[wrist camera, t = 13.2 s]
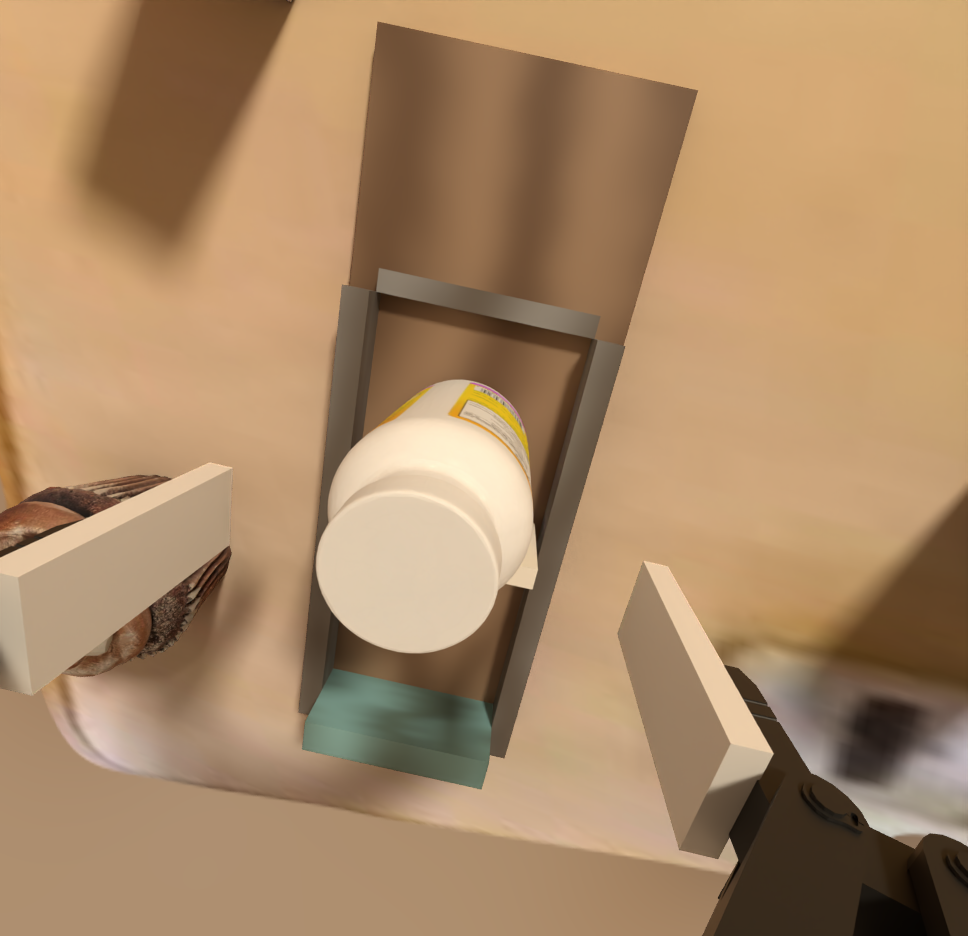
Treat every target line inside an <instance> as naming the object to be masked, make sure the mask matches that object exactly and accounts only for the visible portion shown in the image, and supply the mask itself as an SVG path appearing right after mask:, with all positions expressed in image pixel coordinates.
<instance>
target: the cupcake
mask: <svg viewBox="0 0 968 936" xmlns="http://www.w3.org/2000/svg"><path fill="white" fill-rule="evenodd" d="M170 480H172V479H170V478H168V477H160V476H157V475H152V476H144V475H137V476H128V477H123V478H118V479H112V480H105V481H99V482H94V483H89V484H84V485H77V486H67V487H49V488H47V489H45V490H43V491H41V492H39V493H36V494H34V495H32V496H30V497H28V498H27V499H25V500H24V501H22V502H21V503H19V504H18V505H16V506H14V507H12V508H10V509H7V510H5V511H4V512H2V513H1V514H0V551H1V550H3V549H5V548H8V547H10V546H14V547H15V546H16V544H17V543H19V542H21V541H24V540H26V539H28V538H34V536H35V535H37V534H39V533H42V532H44V531H46V530H48V529H51V528H53V527H55V526H58V525H62V524H66V523H70V522H74V521H78V520H82V519H86V518H88V517H91V516H93V515H95V514H97V513H99V512H102V511H104V510H106V509H108V508H110V507H113V506H115V505H117V504H119V503H121V502H123V501H126V500H128V499H130V498H132V497H134V496H137V495H139V494H141V493H143V492H145V491H148V490H150V489H152V488H154V487H156V486H159V485H161V484H163V483H165V482H167V481H170ZM230 556H231V549H230V546H228V547H226V548H225V549H224V550H222V551H221V552H220V553H218V554H217V555H216V556H214V557H213V558H212V559H211V560H209V561H208V562H207V563H205V564H204V565H203V566H201V567H200V568H199V569H197V570H196V571H195V572H194V573H192V574H191V575H190V576H188V577H187V578H186V579H184V580H183V581H182V582H180V583H179V584H178V585H177V586H175V587H174V588H173V589H171V590H170V591H169V592H167V593H166V594H165V595H163V596H162V597H161V598H160V599H158V600H157V601H156V602H154V603H153V604H152V605H150V606H149V607H148V608H146V609H145V610H144V611H142V612H141V613H140V614H139V615H137V616H136V617H135V618H133V619H132V620H131V621H129V622H128V623H127V624H125V625H124V626H123V627H122V628H120V629H119V630H118V631H116V632H115V633H114V634H112V635H111V636H110V637H108V638H107V639H106V640H105V641H103V642H102V643H101V644H99V645H98V646H97V647H95V648H94V649H93V650H91V651H90V652H89V653H88V654H86V655H85V656H84V657H82V658H81V659H80V660H78V661H77V662H76V663H74V664H73V665H72V666H70V667H69V668H68V669H67V670H65V671H64V672H63V673H61V674H66V675H72V676H78V677H85V676H95V675H98V674H100V673H103V672H106V671H109V670H111V669H112V668H114V667H115V666H118V665H120V664H123V663H126V662H127V661H133V660H134V658H135V657H138V658H141V659H145V657H146V656H147V655H150V656H153V657H154V656H155V655H156V654H157V652H158V651H159V652H161V653H162V652H164V651H166V650H167V648H168V647H172V645H173V644H174V643H175V641H178V639H179V637H180V636H181V634H182V632H185V631H186V629H187V628H188V626H189V624H190V623H191V621H192V619H193V618H194V616H195V614H196V613H197V611H198V609H199V607H200V606H201V605H202V603H203V602H204V601H205V599H206V598H207V597H208V595H209V594H210V593H211V591H212V590H213V589H214V587H215V586H216V584H217V583H218V582H219V580H220V579H221V578H222V576H223V575H224V574H225V572H226V570H227V568H228V562H229V559H230Z"/></svg>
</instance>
